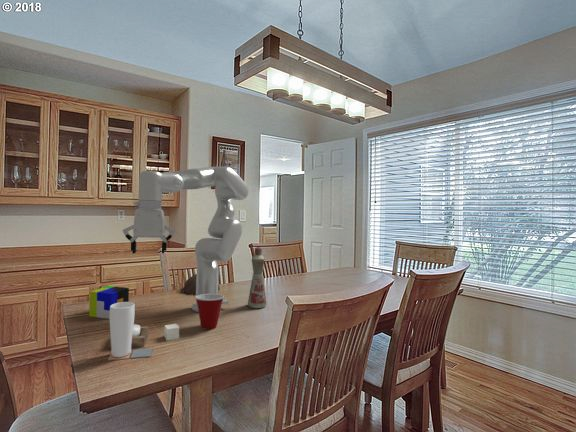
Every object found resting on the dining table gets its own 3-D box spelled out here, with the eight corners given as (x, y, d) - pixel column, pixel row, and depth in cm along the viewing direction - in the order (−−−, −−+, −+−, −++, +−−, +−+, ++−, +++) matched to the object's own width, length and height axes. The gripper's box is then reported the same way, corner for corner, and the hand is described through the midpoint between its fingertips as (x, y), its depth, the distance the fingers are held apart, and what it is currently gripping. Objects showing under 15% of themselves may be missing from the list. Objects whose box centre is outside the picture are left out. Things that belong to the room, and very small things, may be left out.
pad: (131, 350, 101) (131, 349, 101) (128, 358, 96) (128, 357, 96) (112, 352, 99) (112, 351, 99) (107, 360, 94) (107, 359, 94)
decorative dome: (223, 287, 184) (224, 269, 184) (214, 296, 164) (214, 277, 164) (190, 285, 185) (190, 268, 185) (176, 294, 165) (177, 275, 165)
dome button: (141, 335, 111) (141, 323, 111) (138, 342, 105) (138, 330, 105) (122, 336, 109) (122, 325, 109) (118, 344, 104) (118, 331, 103)
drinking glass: (114, 349, 101) (115, 301, 100) (137, 349, 101) (138, 301, 101) (104, 359, 94) (105, 308, 94) (128, 359, 95) (129, 308, 94)
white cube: (176, 334, 115) (176, 323, 115) (178, 338, 111) (179, 327, 111) (164, 336, 113) (164, 325, 112) (166, 341, 109) (167, 329, 109)
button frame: (148, 334, 113) (148, 326, 113) (144, 346, 104) (144, 337, 104) (116, 336, 111) (116, 328, 111) (109, 349, 101) (109, 340, 101)
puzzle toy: (110, 319, 127) (111, 293, 127) (89, 316, 129) (89, 291, 129) (128, 311, 137) (128, 287, 137) (107, 308, 139) (108, 285, 139)
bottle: (260, 302, 157) (262, 245, 156) (269, 307, 150) (272, 247, 149) (244, 304, 152) (246, 245, 152) (253, 310, 145) (255, 248, 144)
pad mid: (152, 349, 103) (152, 348, 103) (150, 356, 97) (150, 355, 97) (133, 350, 101) (133, 349, 101) (130, 358, 96) (130, 357, 96)
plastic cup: (223, 321, 130) (224, 291, 129) (223, 331, 119) (224, 299, 119) (195, 322, 127) (196, 291, 127) (193, 332, 117) (194, 299, 117)
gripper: (121, 204, 110) (120, 254, 110) (175, 206, 115) (173, 254, 115) (125, 204, 117) (124, 251, 117) (176, 206, 122) (174, 251, 122)
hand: (148, 253), depth 116 cm, fingers open, 9 cm apart
